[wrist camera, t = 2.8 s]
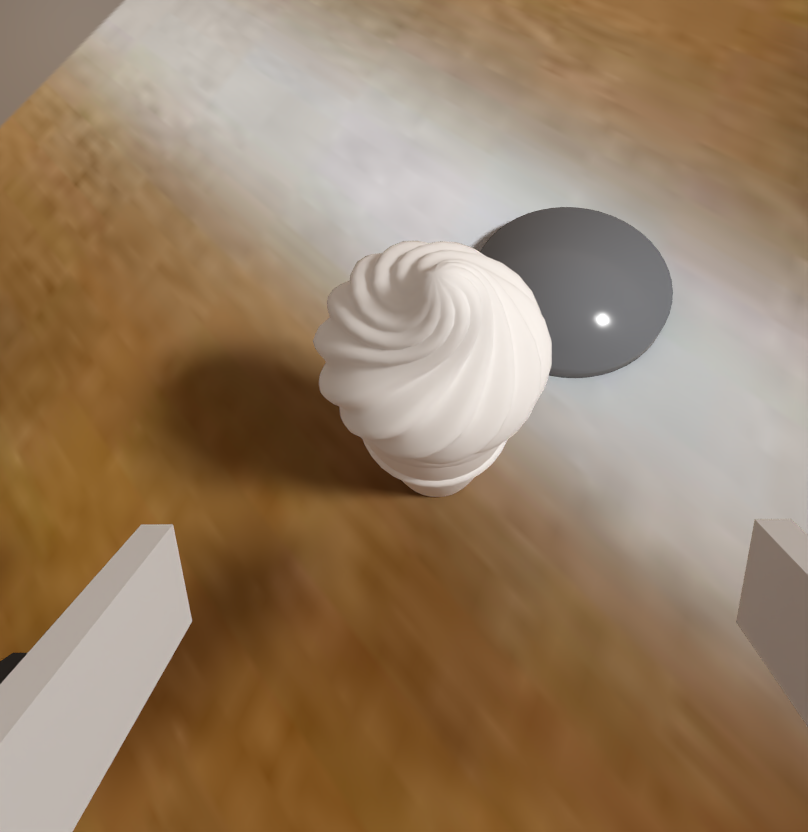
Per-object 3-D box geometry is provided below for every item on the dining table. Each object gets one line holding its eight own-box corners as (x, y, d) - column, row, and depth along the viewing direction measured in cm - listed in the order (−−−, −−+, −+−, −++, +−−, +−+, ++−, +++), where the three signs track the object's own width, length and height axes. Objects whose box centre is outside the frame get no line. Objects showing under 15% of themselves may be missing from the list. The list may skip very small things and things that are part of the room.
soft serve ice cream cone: (324, 461, 32) (219, 268, 17) (432, 357, 34) (420, 108, 19) (442, 573, 29) (435, 455, 15) (552, 452, 31) (642, 245, 17)
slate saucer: (437, 267, 36) (437, 256, 36) (590, 193, 38) (593, 180, 37) (540, 411, 32) (543, 403, 31) (708, 321, 34) (715, 310, 33)
